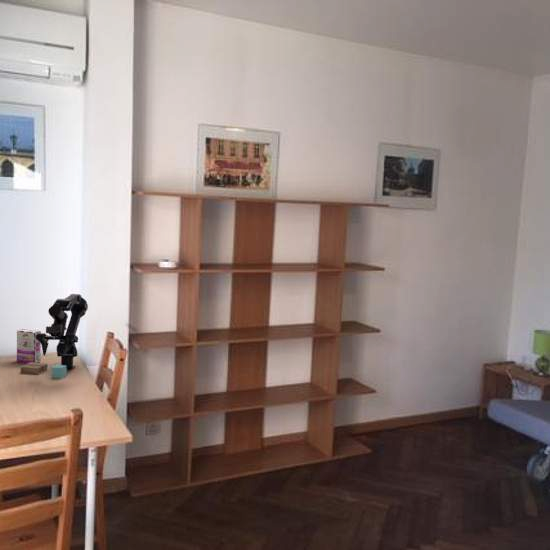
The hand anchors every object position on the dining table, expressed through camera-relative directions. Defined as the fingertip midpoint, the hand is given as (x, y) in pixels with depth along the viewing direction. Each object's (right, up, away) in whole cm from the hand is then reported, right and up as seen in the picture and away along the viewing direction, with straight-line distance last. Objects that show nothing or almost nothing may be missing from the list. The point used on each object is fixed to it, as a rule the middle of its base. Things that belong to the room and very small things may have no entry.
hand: (53, 355), depth 280 cm
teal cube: (0, -11, +6) cm, 12 cm away
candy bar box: (-23, -7, +28) cm, 37 cm away
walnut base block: (-14, -9, +12) cm, 21 cm away
